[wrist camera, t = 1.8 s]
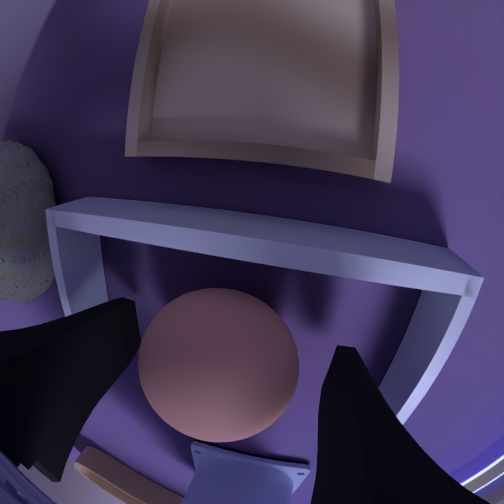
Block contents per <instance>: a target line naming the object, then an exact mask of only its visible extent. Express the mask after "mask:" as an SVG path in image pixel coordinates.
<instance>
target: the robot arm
mask: <svg viewBox="0 0 504 504" xmlns="http://www.w3.org/2000/svg"><path fill="white" fill-rule="evenodd" d="M140 344H141V339H140V333H139V327H138V321H137V315H136V308H135V301H132V300H129V299H126V298H123V297H121V298H117V299H114V300H111V301H108V302H105V303H102V304H99V305H96V306H94V307H91V308H88V309H85V310H83V311H80V312H77V313H74V314H72V315H69V316H66V317H62V318H59V319H56V320H53V321H50V322H47V323H43V324H40V325H36V326H31V327H27V328H22V329H16V330H8V331H0V504H57V503H55V502H54V501H52V499H50V498H49V497H48V496H47V495H46V494H44V493H43V492H42V491H41V490H40V489H39V488H38V487H37V486H35V485H34V484H33V483H32V482H31V481H30V480H29V479H28V478H27V477H26V476H25V475H24V474H23V473H22V472H21V471H20V470H19V469H18V468H17V467H18V466H19V465H20V463H22V464H23V465H24V466H25V467H26V468H27V469H30V468H31V467H32V465H33V466H34V467H35V468H36V469H38V470H39V471H40V472H41V473H42V474H44V475H45V476H46V477H47V478H49V479H50V480H51V481H52V482H59V481H61V478H62V474H63V471H64V468H65V465H66V462H67V459H68V457H69V454H70V452H71V450H72V448H73V445H74V443H75V441H76V439H77V437H78V435H79V433H80V431H81V429H82V427H83V425H84V424H85V422H86V420H87V419H88V417H89V415H90V414H91V412H92V410H93V409H94V407H95V406H96V405H97V403H98V402H99V401H100V399H101V398H102V397H103V396H104V394H105V393H106V392H107V391H108V390H109V388H110V387H111V386H112V385H113V383H114V382H115V381H116V380H117V379H118V377H119V376H120V375H121V374H122V372H123V371H124V370H125V369H126V367H127V366H128V365H129V364H130V362H131V360H132V359H133V357H134V356H135V354H136V352H137V350H138V349H139V347H140ZM191 451H192V456H193V461H194V466H195V470H196V472H195V475H194V477H193V479H192V481H191V483H190V486H189V488H188V490H187V492H186V494H185V497H184V499H183V501H182V503H181V504H290V502H291V497H292V494H293V493H294V491H295V490H296V489H297V488H298V487H299V485H300V484H301V483H302V482H303V480H304V479H305V478H306V476H307V475H308V474H309V472H310V469H311V467H310V466H309V465H306V464H299V463H291V462H284V461H277V460H271V459H265V458H260V457H255V456H250V455H246V454H241V453H237V452H233V451H229V450H225V449H221V448H218V447H214V446H211V445H207V444H204V443H201V442H197V441H194V442H192V444H191ZM17 491H18V492H19V493H21V495H22V496H23V497H22V496H21V495H19V494H18V493H17ZM311 504H490V503H488V502H487V501H485V500H483V499H482V498H480V497H479V496H477V495H475V494H474V493H472V492H471V491H469V490H467V489H466V488H465V487H463V486H462V485H461V484H459V483H458V482H457V481H456V480H454V479H453V478H452V477H451V476H449V475H448V474H447V473H446V472H445V471H444V470H443V469H442V468H440V467H439V466H438V465H437V464H436V463H435V462H434V461H433V460H432V459H431V458H430V457H429V456H428V455H427V454H426V453H425V451H424V450H423V449H422V448H421V447H420V446H419V445H418V444H417V442H416V441H415V440H414V439H413V438H412V436H411V435H410V434H409V433H408V431H407V430H406V429H405V428H404V426H403V425H402V424H401V422H400V421H399V420H398V418H397V417H396V415H395V414H394V412H393V411H392V409H391V408H390V406H389V405H388V403H387V402H386V400H385V398H384V397H383V395H382V393H381V392H380V390H379V389H378V387H377V385H376V384H375V382H374V380H373V378H372V377H371V375H370V373H369V371H368V370H367V368H366V366H365V364H364V362H363V360H362V359H361V357H360V355H359V353H358V352H357V350H356V348H354V347H346V346H338V345H337V347H336V350H335V353H334V356H333V359H332V361H331V364H330V367H329V369H328V372H327V375H326V377H325V380H324V382H323V385H322V388H321V396H320V404H319V412H318V451H317V470H316V479H315V485H314V490H313V495H312V500H311Z"/></svg>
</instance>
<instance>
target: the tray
mask: <svg viewBox="0 0 504 504" xmlns="http://www.w3.org/2000/svg"><path fill="white" fill-rule="evenodd" d="M398 105H399V48H398V32H397V20H396V11H395V3H394V0H149V3H148V6H147V10H146V14H145V17H144V21H143V25H142V29H141V34H140V38H139V43H138V48H137V53H136V58H135V64H134V69H133V76H132V82H131V89H130V97H129V106H128V115H127V126H126V140H125V157H145V156H157V157H197V158H216V159H231V160H243V161H254V162H264V163H274V164H282V165H290V166H298V167H305V168H312V169H319V170H325V171H331V172H337V173H343V174H348V175H354V176H359V177H364V178H369V179H374V180H378V181H383V182H388V183H391V178H392V171H393V163H394V155H395V146H396V135H397V122H398Z"/></svg>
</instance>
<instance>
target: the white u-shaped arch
mask: <svg viewBox="0 0 504 504" xmlns="http://www.w3.org/2000/svg"><path fill="white" fill-rule="evenodd" d="M46 220H47V229H48V237H49V244H50V251H51V257H52V262H53V268H54V273H55V277H56V282H57V287H58V291H59V295H60V299H61V303H62V307H63V310H64V314H65V317H66V316H69V315H72V314H74V313H77V312H80V311H83V310H85V309H88V308H91V307H94V306H96V305H99V304H102V303H105V302H108V301H109V300H108V294H107V288H106V282H105V275H104V268H103V260H102V251H101V241H100V235H103V236H108V237H113V238H119V239H124V240H130V241H135V242H141V243H146V244H152V245H157V246H163V247H168V248H174V249H179V250H185V251H191V252H196V253H202V254H208V255H213V256H219V257H225V258H231V259H236V260H242V261H248V262H254V263H260V264H266V265H272V266H278V267H284V268H290V269H296V270H302V271H308V272H314V273H320V274H326V275H332V276H338V277H345V278H351V279H357V280H363V281H370V282H376V283H382V284H389V285H395V286H402V287H408V288H415V289H421V290H422V292H421V295H420V298H419V300H418V303H417V306H416V308H415V311H414V314H413V316H412V319H411V321H410V323H409V326H408V328H407V331H406V333H405V335H404V337H403V340H402V342H401V344H400V346H399V348H398V350H397V353H396V355H395V357H394V359H393V361H392V363H391V365H390V367H389V369H388V371H387V373H386V374H385V376H384V378H383V380H382V382H381V384H380V386H379V387H378V389H379V390H380V392H381V393H382V395H383V397H384V398H385V400H386V402H387V403H388V405H389V406H390V408H391V409H392V411H393V412H394V414H395V415H396V417H397V418H398V420H399V421H400V422H401V424H402V425H403V424H404V423H405V421H406V420H407V419H408V417H409V416H410V415H411V413H412V412H413V411H414V409H415V408H416V407H417V405H418V404H419V402H420V401H421V400H422V398H423V397H424V395H425V394H426V392H427V391H428V389H429V388H430V386H431V385H432V383H433V382H434V380H435V379H436V377H437V375H438V374H439V372H440V370H441V369H442V367H443V365H444V364H445V362H446V360H447V358H448V357H449V355H450V353H451V351H452V349H453V347H454V346H455V344H456V342H457V340H458V338H459V336H460V334H461V332H462V330H463V328H464V326H465V323H466V321H467V319H468V317H469V315H470V312H471V310H472V308H473V305H474V303H475V300H476V298H477V295H478V293H479V290H480V288H481V285H482V282H483V279H484V277H482V276H481V275H480V274H479V273H478V272H477V271H476V270H475V269H473V268H472V267H471V266H470V265H469V264H468V263H466V262H465V261H464V260H463V259H462V258H460V257H459V256H458V255H457V254H455V253H454V252H453V251H452V250H450V249H449V248H445V247H440V246H436V245H431V244H426V243H422V242H417V241H412V240H407V239H402V238H397V237H392V236H387V235H381V234H376V233H371V232H365V231H360V230H354V229H349V228H343V227H337V226H331V225H325V224H319V223H313V222H307V221H300V220H294V219H287V218H280V217H274V216H267V215H260V214H252V213H245V212H237V211H230V210H222V209H214V208H205V207H197V206H188V205H179V204H169V203H159V202H149V201H138V200H127V199H114V198H101V197H85V198H82V199H78V200H75V201H71V202H68V203H64V204H61V205H57V206H54V207H51V208H48V209H46Z"/></svg>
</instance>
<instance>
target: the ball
mask: <svg viewBox="0 0 504 504" xmlns="http://www.w3.org/2000/svg"><path fill="white" fill-rule="evenodd" d="M138 373H139V378H140V382H141V386H142V389H143V392H144V394H145V396H146V398H147V400H148V402H149V403H150V405H151V406H152V408H153V409H154V410H155V411H156V413H157V414H158V415H159V416H160V417H161V418H162V419H163V420H164V421H165V422H166V423H167V424H169V425H170V426H171V427H173V428H174V429H176V430H178V431H179V432H181V433H183V434H185V435H187V436H190V437H193V438H196V439H199V440H203V441H208V442H232V441H237V440H242V439H246V438H248V437H251V436H253V435H255V434H258V433H260V432H261V431H263V430H264V429H266V428H267V427H269V426H270V425H271V424H273V423H274V422H275V421H276V420H277V419H278V418H279V417H280V416H281V415H282V413H283V412H284V410H285V409H286V408H287V406H288V405H289V403H290V401H291V399H292V397H293V394H294V392H295V389H296V385H297V381H298V376H299V359H298V354H297V348H296V345H295V342H294V339H293V337H292V335H291V332H290V331H289V329H288V327H287V325H286V324H285V323H284V321H283V320H282V319H281V317H280V316H279V315H278V314H277V313H276V312H275V311H274V310H273V309H272V308H271V307H269V306H268V305H267V304H266V303H264V302H262V301H261V300H259V299H258V298H256V297H254V296H252V295H250V294H247V293H244V292H242V291H238V290H234V289H227V288H205V289H199V290H195V291H192V292H188V293H186V294H184V295H181V296H179V297H177V298H176V299H174V300H172V301H171V302H169V303H168V304H167V305H166V306H164V307H163V308H162V309H161V310H160V311H159V312H158V313H157V314H156V315H155V317H154V318H153V319H152V320H151V322H150V323H149V325H148V327H147V329H146V330H145V333H144V335H143V337H142V340H141V344H140V348H139V354H138Z"/></svg>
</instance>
